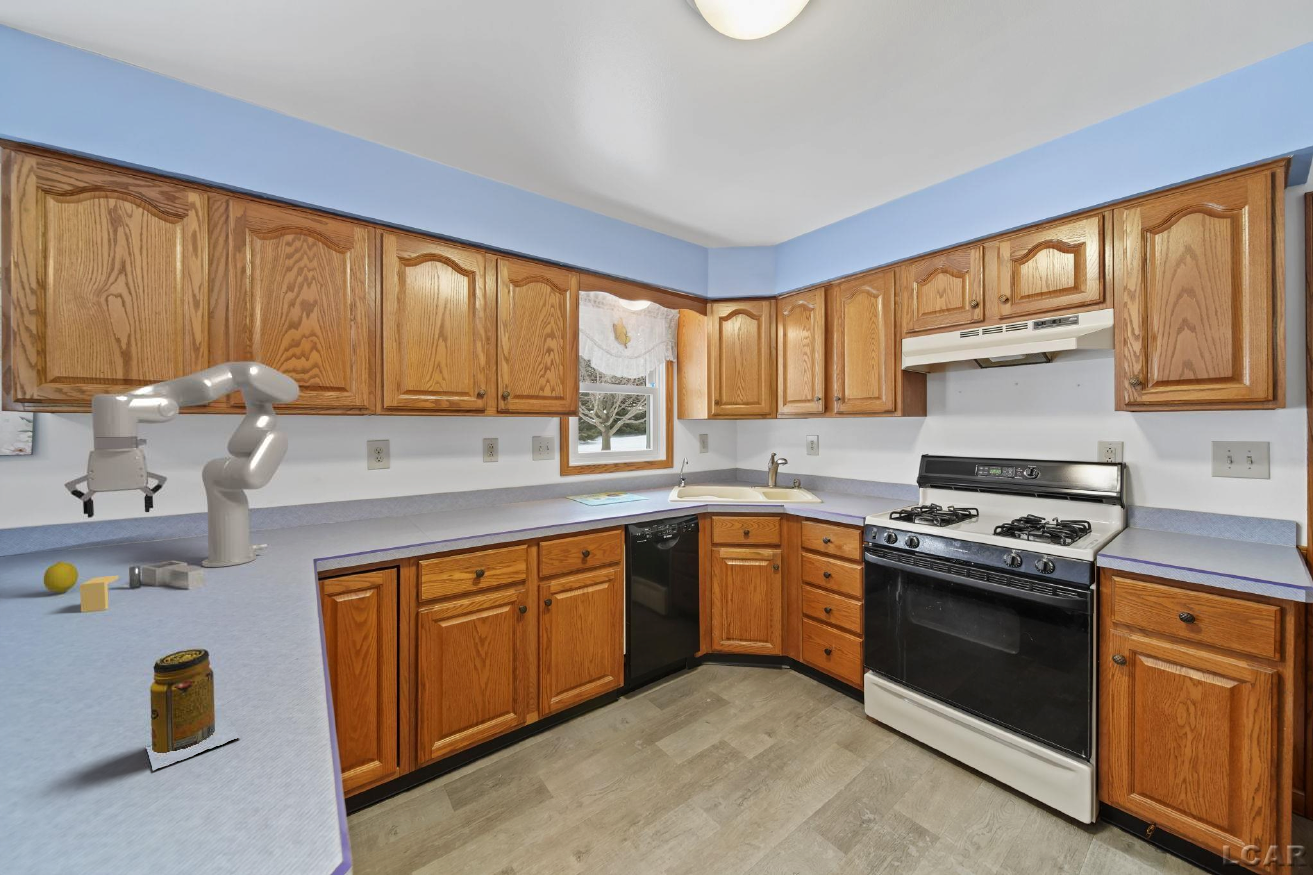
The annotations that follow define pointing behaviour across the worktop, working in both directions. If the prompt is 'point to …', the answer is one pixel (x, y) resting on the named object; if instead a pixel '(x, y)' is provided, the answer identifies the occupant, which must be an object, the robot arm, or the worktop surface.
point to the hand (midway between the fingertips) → (119, 514)
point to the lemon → (60, 577)
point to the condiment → (182, 701)
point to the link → (173, 575)
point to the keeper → (95, 593)
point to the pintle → (135, 577)
